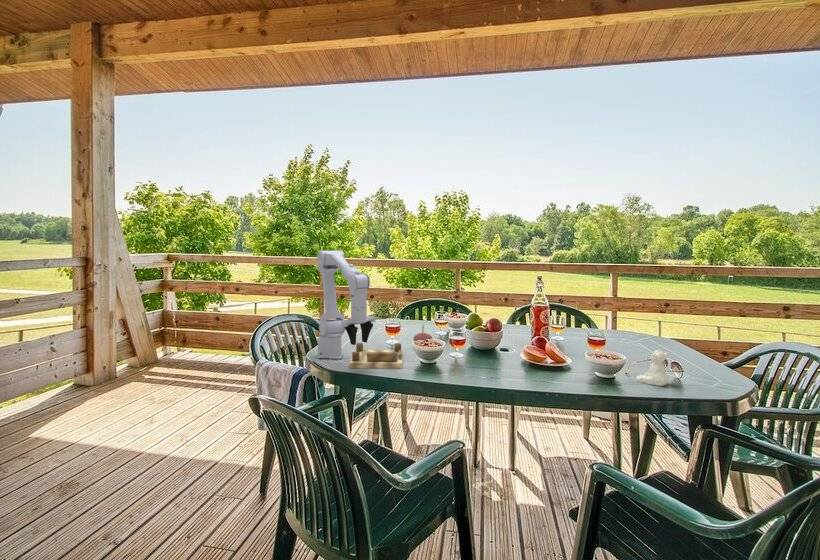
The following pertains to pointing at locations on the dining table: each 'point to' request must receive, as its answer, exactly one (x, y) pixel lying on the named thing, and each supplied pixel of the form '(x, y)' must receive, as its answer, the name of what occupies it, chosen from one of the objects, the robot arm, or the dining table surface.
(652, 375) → the seated beast figurine
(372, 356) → the folding leg
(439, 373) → the dining table surface
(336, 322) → the robot arm
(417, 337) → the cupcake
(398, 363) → the stool seat
